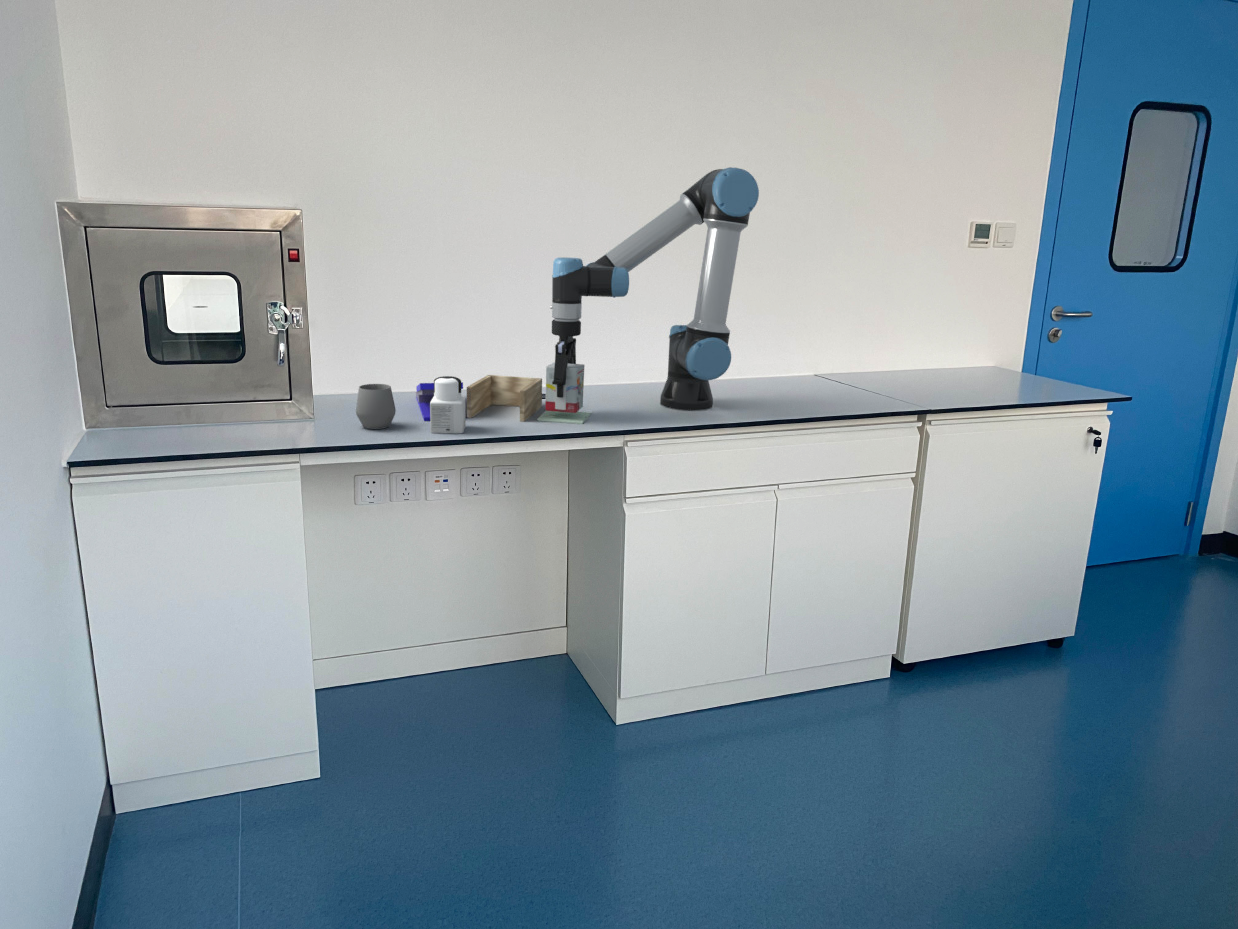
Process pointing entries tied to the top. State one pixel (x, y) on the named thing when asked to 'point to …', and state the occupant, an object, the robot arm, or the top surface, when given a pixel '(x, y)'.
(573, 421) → the mat
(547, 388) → the ink box
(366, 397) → the cup
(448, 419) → the container
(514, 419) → the top surface
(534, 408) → the u-shaped enclosure
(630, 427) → the top surface
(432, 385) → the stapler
